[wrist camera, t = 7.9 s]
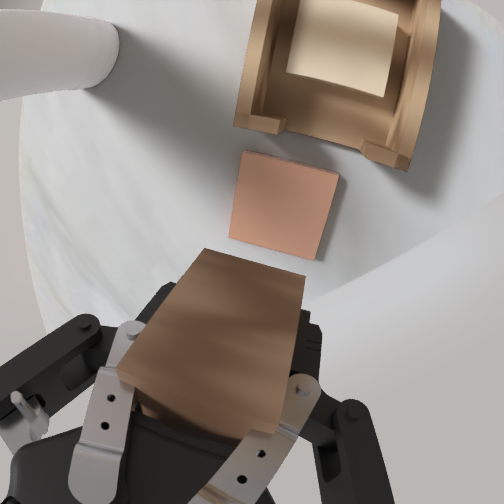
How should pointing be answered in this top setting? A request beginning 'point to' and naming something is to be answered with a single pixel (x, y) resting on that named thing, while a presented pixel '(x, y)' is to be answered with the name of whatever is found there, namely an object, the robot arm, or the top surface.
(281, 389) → the walnut block
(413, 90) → the oak box
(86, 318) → the robot arm
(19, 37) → the bottle
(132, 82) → the top surface
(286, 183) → the terracotta tile
